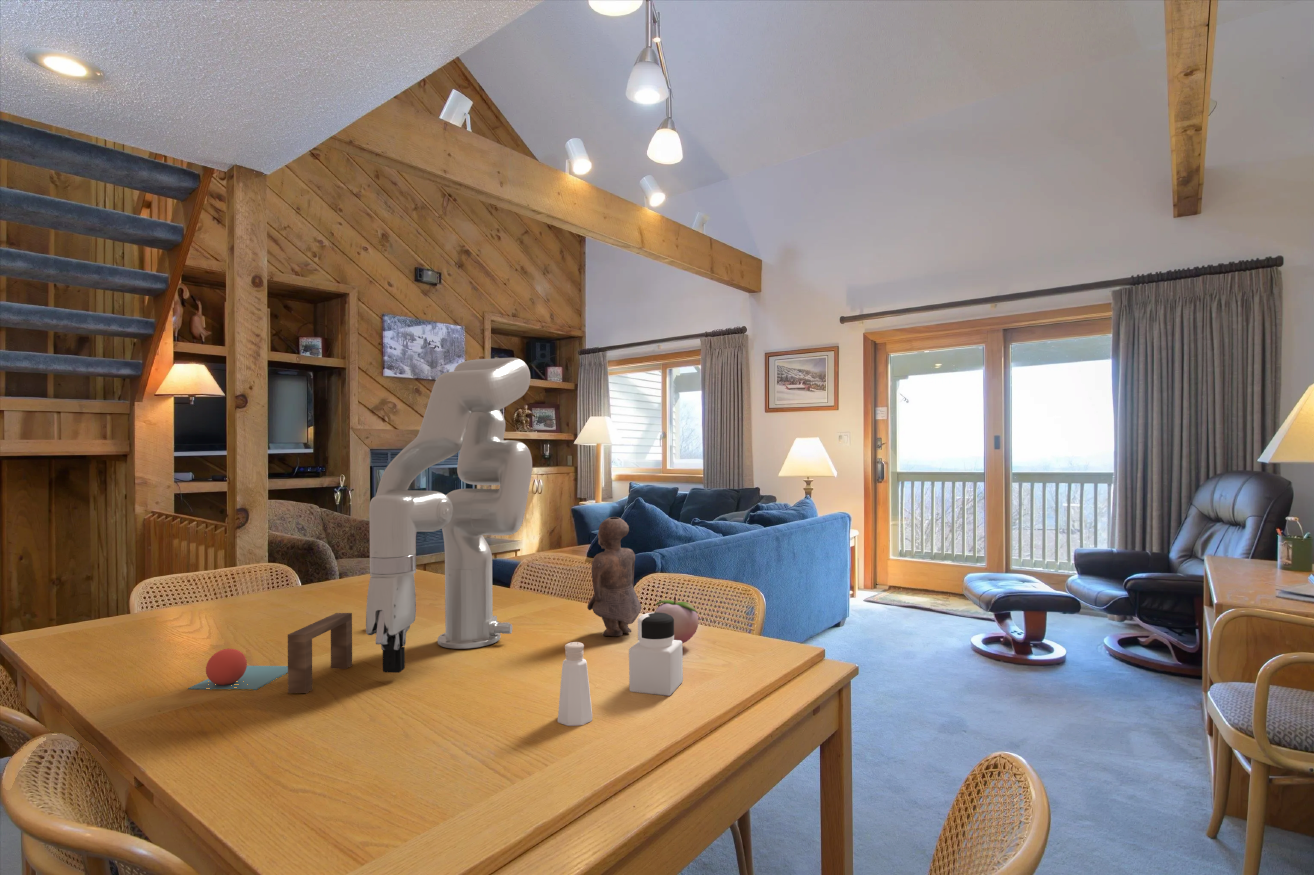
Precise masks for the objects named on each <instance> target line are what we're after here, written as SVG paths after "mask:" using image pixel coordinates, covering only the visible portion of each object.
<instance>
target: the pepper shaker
mask: <svg viewBox="0 0 1314 875" xmlns="http://www.w3.org/2000/svg"><path fill="white" fill-rule="evenodd" d="M584 647H585V645H584V643H582V642H579V641H573V642H572V641H571V642H568V643H566V644H565V645H564V649H565V652H564V653H565V659H564V660H562V666H561V677H560V678H561V679H560V690H559V701H558V710H557V713H558V714H557V723H558V724H561V725H564V726H567V727H575V726H578V727H579V726H583V725H585V724H588V723H590V722H592V721H593V710H592V699H591V690H590V681H589V671H588V662H587V659H585V658H584V654H585V653H584V652H585V651H584Z"/></svg>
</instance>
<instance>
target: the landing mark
mask: <svg viewBox="0 0 1314 875" xmlns="http://www.w3.org/2000/svg"><path fill="white" fill-rule="evenodd" d="M286 673H287V674H288V665H247V668H246V671H245V673H244V674H243V676H242V677H241V678H240V679H239V680H238V682H234V683H232V684H229V685H217V684H216V685H215V683H213V682H211V681H210V680H209V678H207V679H204V680H203V681H200V682H198V683H196V684H194V685H191V686H190V687H188V688H187V689H188V690H207V689H206V688H210V689H209V690H212V689H253V690H252V691H257V690H259V689H261V688H262V687H264V685H265V686H267V685H269V684H271V683H272V682H274V681H276V680H277V679H276V678H278V679H279V677H280V678H282V677H283V676H285V675H287V674H286ZM282 675H283V676H282ZM275 679H276V680H275ZM273 680H274V681H273ZM208 681H209V682H208ZM243 681H244V682H243ZM271 681H272V682H271ZM208 684H209V685H208ZM234 684H239V685H234ZM247 684H248V685H247ZM266 684H267V685H266ZM231 685H232V686H231ZM234 687H237V688H234ZM260 687H261V688H260ZM258 688H259V689H258Z"/></svg>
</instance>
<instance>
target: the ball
mask: <svg viewBox="0 0 1314 875" xmlns="http://www.w3.org/2000/svg"><path fill="white" fill-rule="evenodd" d="M247 666H248V662H247V657H246V656H245V655H244V653H243V652H242V651H240V650H239V649H235V648H223V649H220V650H219V651H217V652H215V653H214V654H213V655H211V656H210V658H209V659H208V661H207V663H206V667H205V673H206V677H207V679H209V680H210V681H211V682H213V683H215V684H217V685H229V684H232V683H234V682H236V681H238V680H239V679H240V678H241V677H242V676H243V674H244V673H245V671H246V668H247Z"/></svg>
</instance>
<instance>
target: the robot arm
mask: <svg viewBox="0 0 1314 875" xmlns="http://www.w3.org/2000/svg"><path fill="white" fill-rule="evenodd" d="M530 384H531V371H530V369H529V366H528V365H527V363H526V362H525V361H524V360H522V359H520V358H517V357H499V358H498V357H497V358H479V359H478V358H477V359H471V360H469V359H468V360H465V361H462V362H460V363H458V364H457V365H456V366H455V368H454V369H453V370H452V371H448V372H444V373H442V374H441V375H439V376H438V377H437V378H436V380H435V382H434V384H433V386H432V389H431V393H430V395H429V396H430V397H429V399H428V403H427V406H426V410H425V413H424V415H423V418H422V422H421V425H420V428H419V431H418V433H417V436H416V437H415V438H414V439H413V440H412V441H411V442H409V443H408V444H407V445H406V446H405V447H404V448H403V449H402V450H401V451H400V452H399V453H398V454H397V455H396V456H395V457H394V458H393V459H392V460H391V461H390V462H389V464H388V465H387V466H386V468H385V469H384V471H383V473H382V475H381V478H380V481H379V484H378V487H377V490H376V493H375V496H374V497H372V498H371V500H370V502H369V576H370V578H369V581H368V582H369V583H368V589H367V596H366V597H367V598H366V611H365V612H366V613H365V633H366V634H367V635H368V636H373V635H375V645H380V648H381V650H382V672H383V673H384V674H385V673H388V674H389V673H390V674H391V673H393V674H394V673H395V674H396V673H397V674H398V673H401V672H402V671H404V670H405V669H406V668H405V666H406V664H405V663H406V661H405V660H406V656H405V655H406V653H405V646H406V642H407V640H406V639H407V632H408V631H409V630H410V628H411V625H412V624H413V623H414V622H415V621H416V614H417V607H416V606H417V601H416V600H417V597H416V596H417V595H416V585H415V584H416V583H415V582H416V581H415V574H416V573H417V564H416V563H417V550H416V548H417V546H416V543H417V540H416V539H417V538H416V537H417V536H416V534H417V532H418V533H419V532H436V531H439V530H442V535H443V536H442V537H443V543H444V546H443V547H444V587H445V589H444V595H445V596H444V598H445V601H444V602H445V612H444V613H445V616H444V617H445V618H444V619H445V632H443V633H442V634H440V635H439V636H438V637H437V644H438V646H440V647H443V648H447V649H455V650H456V649H458V650H459V649H460V650H462V649H463V650H464V649H475V648H476V649H478V648H481V647H485V646H489V645H493V644H494V643H497V642H498V641H500V639H501V634H504V635H505V634H509V635H511V634H512V632H513V624H512V623H510V622H506V621H505V622H500V621H498V616H497V615H493V555H492V554H493V553H492V551H491V548H490V545H489V544H488V541H487V540H486V538H485V537H484V536H511V535H514V534H515V533H517V532H518V531H520V528H521V526H522V524H523V521H524V520H525V519H524V518H525V513H526V509H527V504H528V498H529V490H530V485H531V479H532V473H533V458H532V454H531V450H530V449H529V448H528V446H527V445H526V444H525V443H524V442H522V441H520V440H509V439H506V440H505V433H506V420H505V417H504V415H503V413H502V412H501V411H500V410H502V409H504V408H506V407H508V406H509V405H511V404H512V403H513V402H516V401H517V400H519V399H520V398H523V396H524V395H525V394H526V393H527V391H528V390H529V387H530ZM458 453H459V455H458V460H457V465H456V466H457V467H456V471H457V476H458V478H459V479H460V481H462V482H463V483H466V484H469V485H474V486H476V485H478V486H499V488H459V489H454V490H452V491H450V492H448V493H447V494H444V493H443V492H440V491H437V490H411V489H410V490H409V487H410V486H411V483H413V481H414V480H415V479H416V478H417V477H418V476H419V475H420V474H422V472H424V471H425V470H427V469H428V468H430V467H432V466H434V465H436V464H439V463H441V462H444V461H445V460H447V459H449V458H451V457H453V456H455V455H457V454H458Z"/></svg>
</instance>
